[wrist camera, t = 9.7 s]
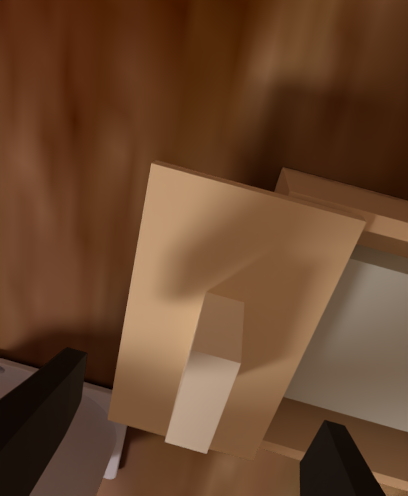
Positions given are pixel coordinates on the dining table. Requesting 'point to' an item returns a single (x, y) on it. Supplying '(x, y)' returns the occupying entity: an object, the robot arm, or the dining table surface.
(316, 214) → the flap
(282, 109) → the dining table surface
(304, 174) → the carton
